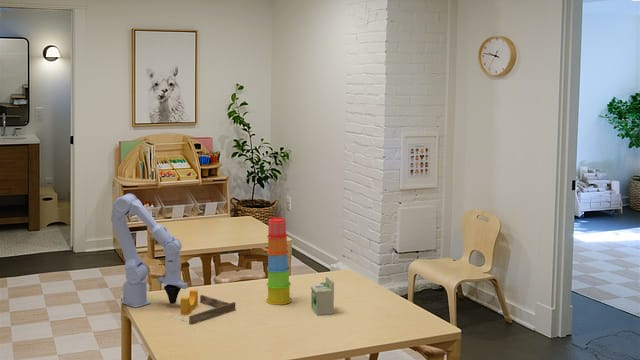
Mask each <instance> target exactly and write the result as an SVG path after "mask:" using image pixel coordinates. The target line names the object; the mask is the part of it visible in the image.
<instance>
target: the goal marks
mask: <svg viewBox="0 0 640 360" xmlns="http://www.w3.org/2000/svg"><path fill="white" fill-rule="evenodd" d="M205 307H206V308H209V309H213V308H214V307H213V306H210V305H205ZM172 318H175V319H178V320H181V321H183V322H188V320H187V319H184V318H181V317H178V316H176V315H172Z"/></svg>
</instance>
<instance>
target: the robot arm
mask: <svg viewBox="0 0 640 360" xmlns="http://www.w3.org/2000/svg"><path fill="white" fill-rule="evenodd" d="M111 207H112V213H111V217H110V221H111V223H112V226H113V229H114V232H115V234H116V235H115V236H116V238H117V240H118V243H119V246H120V249H121V252H122V255H123V257H124V260H125V263H124V264H125V266H124V269H125V278H126V281H125V282H124V283H123V285H122V300H121V301H120V303H121V304H124V305H127V306H130V307H133V308H140V307H143V306H147V305H150V304H152V302H151V301H149V300H147V299H148V297H147V296H148V295H147V294H148V293H147V291H148V290H147V288H148V287H147V283H148V282H147V278H146V277H147V276H148V273H149V267H148V265H146V264H145V263H144V261H143V259H142V258H141V257H140V255H139V253H138V251H137V247H136V245H135V242H134V240H133V236H132V234H131V231H130V228H129V225H128V222H127V218H128V216H129V215H133V216H137V217H138V218H139V220H140V221H142V222H143V223H144V224H145V225H146V226H147V227H148V228H149V229H150V235H151V236H152V237H153V239H155V241H157V243H158V244H159V245H160V246H161V247H162V251H163V253H164V254H165V256H164V257H165V262H164V265H165V268H164V269H165V270H164V271H165V272H164V273H165V274H164V275H165V277H162V276H161V277H158V278H157V283H159V284H164V285H165V286H163V289H164V290H165V293H166V294H167V297H168V301H169V304H171V305H174V304H176V303H177V299H178V296H179V294H180V291H181V289H182V290H186V289H188V287H189V286H188V285H189V283H186V282H184V281H183V280H181V253H180V251H181V250H182V242H181V241H180V239H178V238H176V237H175V236H173V235H172V234H171V233H170V231H169V230H168V227H167V226H164V225H163V224H158V222H157V221H156V219H154V218H153V217H152V215H151V214H150V212H148V211H149V210H147V209H146V208H145V207H144V205H143V203H142V202H141V200H140V199H138V198H137V196H136V195H135V194H133V193H126V194H124V195H123V196H120V197H117V198H116V199H115V200H114V202H113V203H112V205H111Z"/></svg>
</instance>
